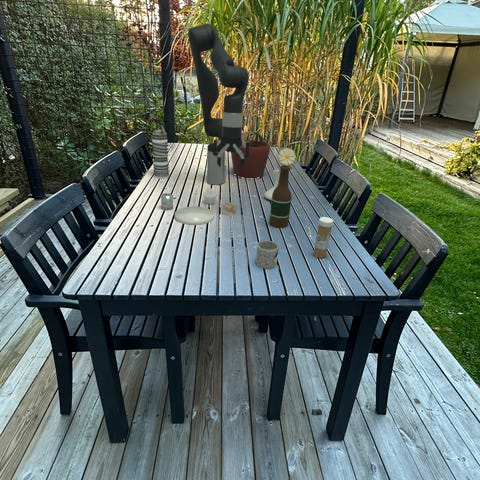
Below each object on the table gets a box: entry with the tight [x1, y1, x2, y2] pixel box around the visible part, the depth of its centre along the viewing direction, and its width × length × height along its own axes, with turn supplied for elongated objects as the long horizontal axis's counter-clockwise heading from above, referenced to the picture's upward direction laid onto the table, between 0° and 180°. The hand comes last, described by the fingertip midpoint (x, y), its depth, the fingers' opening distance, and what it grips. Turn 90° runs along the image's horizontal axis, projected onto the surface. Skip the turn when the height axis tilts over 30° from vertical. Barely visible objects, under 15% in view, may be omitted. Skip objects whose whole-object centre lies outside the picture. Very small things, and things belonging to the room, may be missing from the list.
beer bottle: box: [269, 164, 292, 229], centre depth 132 cm, size 8×8×24 cm
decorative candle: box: [150, 129, 170, 180], centre depth 183 cm, size 9×9×25 cm
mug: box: [255, 239, 280, 270], centre depth 108 cm, size 10×7×7 cm
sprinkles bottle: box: [312, 216, 334, 259], centre depth 112 cm, size 5×5×13 cm
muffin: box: [202, 188, 218, 205], centre depth 154 cm, size 6×6×7 cm
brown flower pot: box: [230, 130, 271, 178], centre depth 195 cm, size 24×22×25 cm
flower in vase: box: [263, 147, 297, 201], centre depth 159 cm, size 13×11×25 cm
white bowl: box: [174, 206, 215, 226], centre depth 139 cm, size 16×16×2 cm
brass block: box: [221, 202, 237, 217], centre depth 144 cm, size 4×4×4 cm
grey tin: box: [160, 192, 174, 211], centre depth 145 cm, size 5×5×6 cm
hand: (230, 167), depth 136 cm, fingers open, 8 cm apart
